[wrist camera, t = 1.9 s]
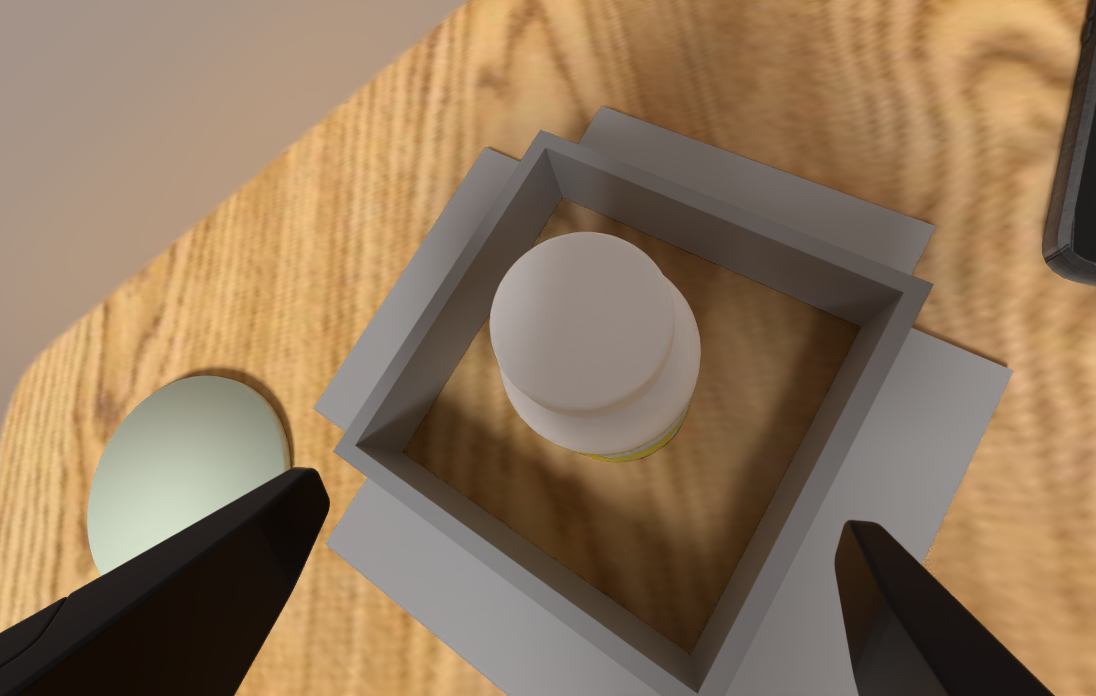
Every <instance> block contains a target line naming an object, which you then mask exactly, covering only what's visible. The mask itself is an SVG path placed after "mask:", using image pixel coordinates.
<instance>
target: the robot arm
mask: <svg viewBox="0 0 1096 696" xmlns="http://www.w3.org/2000/svg"><path fill="white" fill-rule="evenodd" d="M329 507H330V499H329V496H328V494H327V492H326V489H325V487H324V484H323V482H322V480H321V477H320V475H319V473H318V472H317V471H316V470H315V469H313V468H305V467H294V468H291V469H289V470H287V471H285V472H284V473H282V474H280V475H278V476H277V477H275V478H273V479H271V480H269V481H268V482H266V483H264V484H262V485H261V486H259V487H257V488H255V489H254V490H252V491H250V492H248V493H247V494H245V495H243V496H241V497H240V498H238V499H236V500H234V501H233V502H231V503H229V504H227V505H226V506H224V507H222V508H220V509H218V510H217V511H215V512H213V513H211V514H210V515H208V516H206V517H204V518H203V519H201V520H199V521H197V522H196V523H194V524H192V525H190V526H189V527H187V528H185V529H183V530H182V531H180V532H178V533H176V534H174V535H173V536H171V537H169V538H167V539H166V540H164V541H162V542H160V543H159V544H157V545H155V546H153V547H152V548H150V549H148V550H146V551H145V552H143V553H141V554H139V555H138V556H136V557H134V558H132V559H131V560H129V561H127V562H125V563H123V564H122V565H120V566H118V567H116V568H115V569H113V570H111V571H109V572H108V573H106V574H104V575H102V576H101V577H99V578H97V579H95V580H94V581H92V582H90V583H88V584H87V585H85V586H83V587H81V588H79V589H78V590H76V591H74V592H72V593H71V594H70V595H69V596H68V597H64V598H62V599H60V600H58V601H56V602H55V603H53V604H51V605H49V606H48V607H46V608H44V609H42V610H41V611H39V612H37V613H35V614H34V615H32V616H30V617H28V618H26V619H25V620H23V621H21V622H19V623H17V624H16V625H14V626H12V627H10V628H8V629H7V630H5V631H3V632H1V633H0V696H234V695H235V694H236V692H237V690H238V688H239V686H240V685H241V683H242V681H243V679H244V677H245V676H246V674H247V672H248V670H249V669H250V667H251V665H252V663H253V661H254V660H255V658H256V656H257V654H258V652H259V651H260V649H261V647H262V645H263V644H264V642H265V640H266V638H267V636H268V635H269V633H270V631H271V629H272V627H273V626H274V624H275V622H276V620H277V619H278V617H279V615H280V613H281V611H282V610H283V608H284V606H285V604H286V602H287V601H288V599H289V597H290V595H291V593H292V591H293V589H294V587H295V585H296V583H297V581H298V579H299V577H300V575H301V572H302V570H303V568H304V566H305V563H306V561H307V559H308V557H309V554H310V552H311V550H312V548H313V545H314V543H315V541H316V539H317V537H318V534H319V532H320V530H321V528H322V525H323V523H324V521H325V519H326V516H327V514H328V511H329ZM834 566H835V574H836V580H837V586H838V592H839V597H840V603H841V609H842V615H843V620H844V626H845V632H846V637H847V643H848V649H849V655H850V660H851V665H852V670H853V676H854V680H855V684H856V687H857V691H858V695H859V696H1055V695H1054V694H1053V693H1052V692H1051V691H1050V690H1049V689H1048V688H1046V687H1045V686H1044V685H1043V684H1042V683H1041V682H1040V681H1039V680H1038V679H1037V678H1036V677H1035V676H1034V675H1033V674H1032V673H1031V672H1030V671H1029V670H1028V669H1027V668H1026V667H1025V666H1024V665H1023V664H1022V663H1021V662H1020V661H1019V660H1018V659H1017V658H1016V657H1015V656H1014V655H1013V654H1012V653H1011V652H1010V651H1009V650H1008V649H1007V648H1006V647H1005V646H1004V645H1003V644H1002V643H1001V642H1000V641H999V640H998V639H997V638H996V637H995V636H994V635H993V634H992V633H990V632H989V631H988V630H987V629H986V628H985V627H984V626H983V625H982V624H981V623H980V622H979V621H978V620H977V619H976V618H975V617H974V616H973V615H972V614H971V613H970V612H969V611H968V610H967V609H966V608H965V607H964V606H963V605H962V604H961V603H960V602H959V601H958V600H957V599H956V598H955V597H954V596H953V595H952V594H951V593H950V592H949V591H948V590H947V589H946V588H945V587H944V586H943V585H942V584H941V583H940V582H939V581H938V580H937V579H936V578H935V577H933V576H932V575H931V574H930V573H929V572H928V571H927V570H926V569H925V568H924V567H923V566H922V565H921V564H920V563H919V562H918V561H917V560H916V559H915V558H914V557H913V556H912V555H911V554H910V553H909V552H908V551H907V550H906V549H905V548H904V547H903V546H902V545H901V544H900V543H899V542H898V541H897V540H896V539H895V538H894V537H893V536H892V535H891V534H890V533H889V532H888V531H887V530H886V529H885V528H884V527H882V526H881V525H880V524H878V523H876V522H871V521H860V520H848V521H846V522H845V524H844V526H843V529H842V533H841V536H840V540H839V543H838V546H837V550H836V553H835V560H834Z"/></svg>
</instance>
